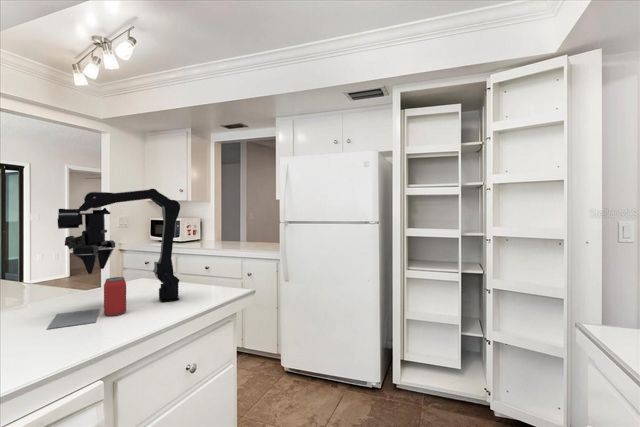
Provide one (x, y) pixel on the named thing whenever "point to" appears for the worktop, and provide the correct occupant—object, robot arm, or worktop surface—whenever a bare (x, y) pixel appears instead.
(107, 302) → the beer can
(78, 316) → the mat
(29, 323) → the worktop surface
